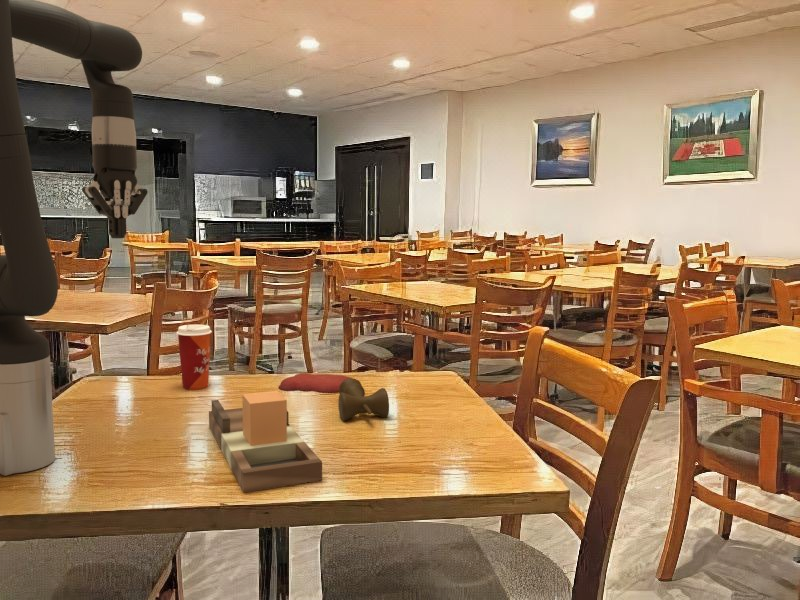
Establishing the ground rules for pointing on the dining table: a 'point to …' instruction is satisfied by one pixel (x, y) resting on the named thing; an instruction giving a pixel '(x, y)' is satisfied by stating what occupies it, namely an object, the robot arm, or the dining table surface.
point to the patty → (313, 383)
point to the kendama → (361, 400)
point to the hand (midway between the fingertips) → (117, 238)
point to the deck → (262, 454)
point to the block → (264, 417)
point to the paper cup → (194, 355)
